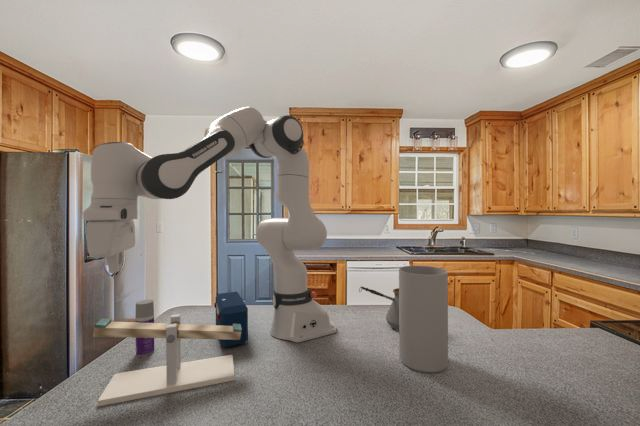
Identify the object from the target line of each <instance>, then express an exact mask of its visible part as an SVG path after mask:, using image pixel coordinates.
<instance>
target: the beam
mask: <svg viewBox="0 0 640 426" xmlns="http://www.w3.org/2000/svg"><path fill="white" fill-rule="evenodd" d="M112 319H113V318H101V319H100V320H98V321H97V322H96V324H95V325H94V326H93V327H94V329H93V334H92V337H94V338H95V337H97V338H99V337H100V338H135V339H136V338H154V339H166V327H167V325H168V324H169V323H165V322H163V323H161V322H160V323H159V322H158V323H157V322H154V323H139V322H135V321H134V322H133V321H130V322H129V321H112ZM170 324H177V338H181V340H182V339H184V340H186V339H188V340H189V339H191V340H193V339H194V340H219V339H228V340H240V336H241V330H242V329H241V324H233V326H221V325H216V324H194V323H193V324H190V323H181V322H180V323H178V322H173V323H171V322H170Z"/></svg>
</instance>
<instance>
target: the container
mask: <svg viewBox="0 0 640 426" xmlns="http://www.w3.org/2000/svg"><path fill="white" fill-rule="evenodd" d="M154 305H155V304H154V300H153V299H142V300H139V301H137V302H135V320H134V322H139V323H155V309H154ZM154 352H155V338H135V356H136V357H138V358H140V357H147V356H151V355H152V354H153V353H154Z"/></svg>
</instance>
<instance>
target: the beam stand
mask: <svg viewBox="0 0 640 426" xmlns="http://www.w3.org/2000/svg"><path fill="white" fill-rule="evenodd" d="M173 322H178V323H180V324H181V313H175V314H171V316H170V323H167V324H168V325H167V327H166V338H165V344H166V345H165V346H166V347H165V349H166V351H165V353H166V354H165V355H166V356H165V357H166V358H165V359H166V361H165V363H166V365H159V366H155V367H148V368H147V367H146V368H142V369H135V370H129V371H122V372H117V373H114V375H113V376H112V378H111V379H110V381H109V382H108V384H107V385H106V387H105V389H104V390H103V392H102V393H101V395H100V397H99V398H98V400H97V407H102V406H107V405H108V406H109V405H112V404H117V403H124V402H128V401H134V400H138V399H143V398H148V397H149V398H150V397H155V396H158V395H164V394H165V395H166V394H169V393H175V392H180V391H186V390H190V389H191V390H192V389H195V388H201V387H202V388H203V387H206V386H212V385H216V384H221V383H227V382H228V383H229V382H233V381H235V379H236V378H235V368H234V367H235V366H234V357H233V354H228V355H222V356H215V357H209V358H204V359H197V360H191V361H185V362H182V349H181V348H182V343H181V340H182V339H181V338H177V324H171V323H173Z"/></svg>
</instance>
